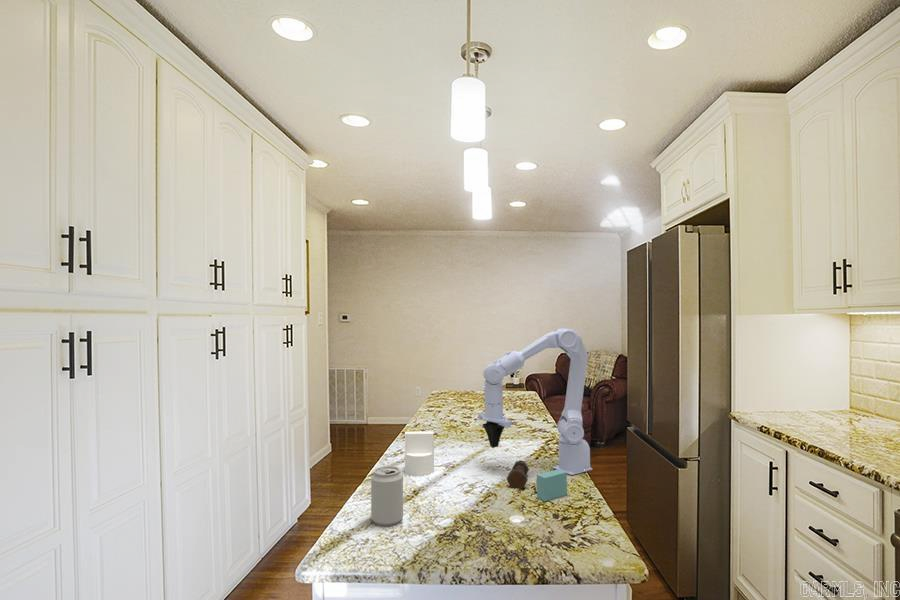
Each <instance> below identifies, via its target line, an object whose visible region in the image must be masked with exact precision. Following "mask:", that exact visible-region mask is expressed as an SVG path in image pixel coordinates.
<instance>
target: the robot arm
mask: <svg viewBox="0 0 900 600" xmlns="http://www.w3.org/2000/svg"><path fill="white" fill-rule="evenodd" d="M546 349H561V350H562V351H564V352H565V354H566V355H567V356H568V357H569V359H570V362H569V371H568V378H567V384H566V393H565V401H564V408H563V410H562V412H561V416H560V418H559V420H558V421H557V424H556V428H557V431H558V432H559V434H560V435H559V437H558V465H555V466H552V468H553V469H554V470H557V469H559V470H562V471H565V472H567V475H570V476H573V475H578V474H581V473H584V472H588V471H592V470H593V468H592V467H591V448H590V445H589V443H588V442H587V440H586V439H583V438H584V436H585V431H584V430H585V429H584V428H583V422H584V421H583V420H584V419H583V415H582V406H583V405H582V404H583V399H584V389H585V385H586V384H585V383H586V382H585V381H586V376H587V366H588V360H589V359H588V358H589V355H588V351H587V350H586V347H585V345H584V342H583V340H582V336H581V335H579V334H578V332H576V330H574V329H572V328H565V327H558V328H556V329H555V330H554V331H550V332H548V333H546V334H545V335H543V336H541V337H540V338H538V339H537V340H535V341H534V342H532V343H530V344H529V345H527V346H526V347H524V348H523V349H521V350H520V351H518V350H512V351H510V350H508V351H507V352H506V354H505V355H504V356H503V357H501V358H499V359H494V360H493V363H490V364H487V365H486V366H485V367H484V369H483V372H482V374H483V377H484V379H485V380H484V391H483V392H484V399H483V400H484V412H479V413H478V412H477V420H480V421H481V420H482V421H483V422H486V423H483V424H482V427H483V428H484V430H485V432H486V435H487V438H488V442H489V445H490V447H491V448H498V447H499V445H500V440H501V437H502V436H501V435H502V433H503V431H504V429H510V428H512V420H510V419H508V418H506V417H505V416H504V403H503V402H504V400H503V399H504V398H503V397H504V393H503V392H504V391H503V380H504V378H505V377H508V376H510V375H512V374H513V373H515V372H516V371H518V370H519V369H521V368H523V367H524V365H525V361H526V360H528V359H530V358H532V357H534V356H535V355H537V354H539V353H541V352H543V351H544V350H546ZM584 469H585V471H584Z"/></svg>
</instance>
